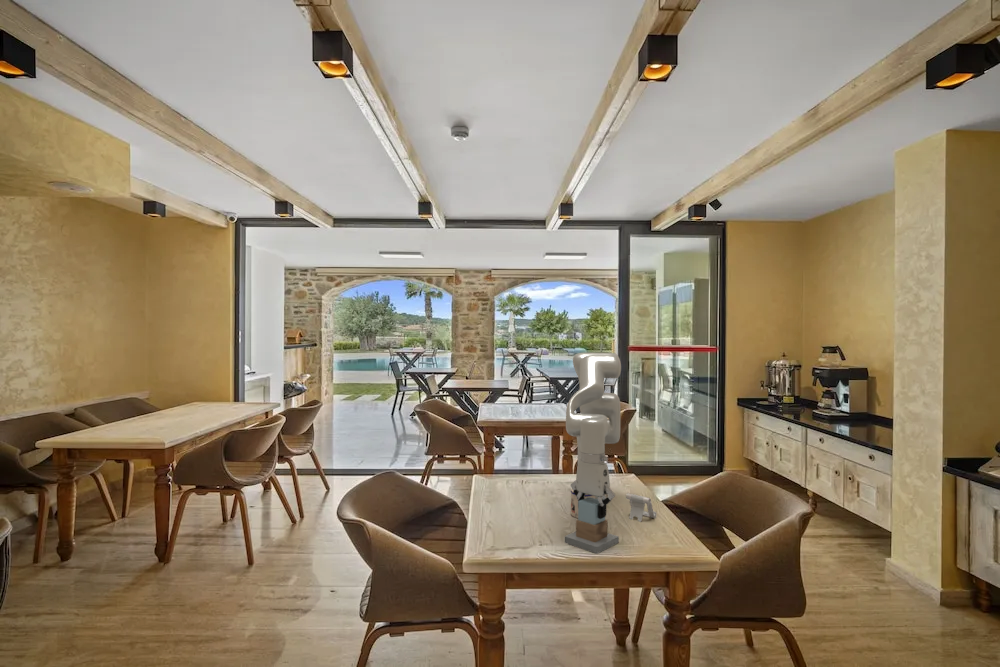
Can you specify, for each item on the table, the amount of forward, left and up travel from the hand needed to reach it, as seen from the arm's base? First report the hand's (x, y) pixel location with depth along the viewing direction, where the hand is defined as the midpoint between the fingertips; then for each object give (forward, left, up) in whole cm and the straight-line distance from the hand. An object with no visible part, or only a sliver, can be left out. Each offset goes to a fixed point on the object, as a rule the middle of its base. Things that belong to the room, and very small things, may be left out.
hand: (591, 514), depth 164 cm
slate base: (0, 0, -9) cm, 9 cm away
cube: (0, 0, -2) cm, 2 cm away
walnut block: (0, 0, -7) cm, 7 cm away
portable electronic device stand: (-32, -1, -9) cm, 33 cm away
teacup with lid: (-18, -16, -9) cm, 26 cm away
